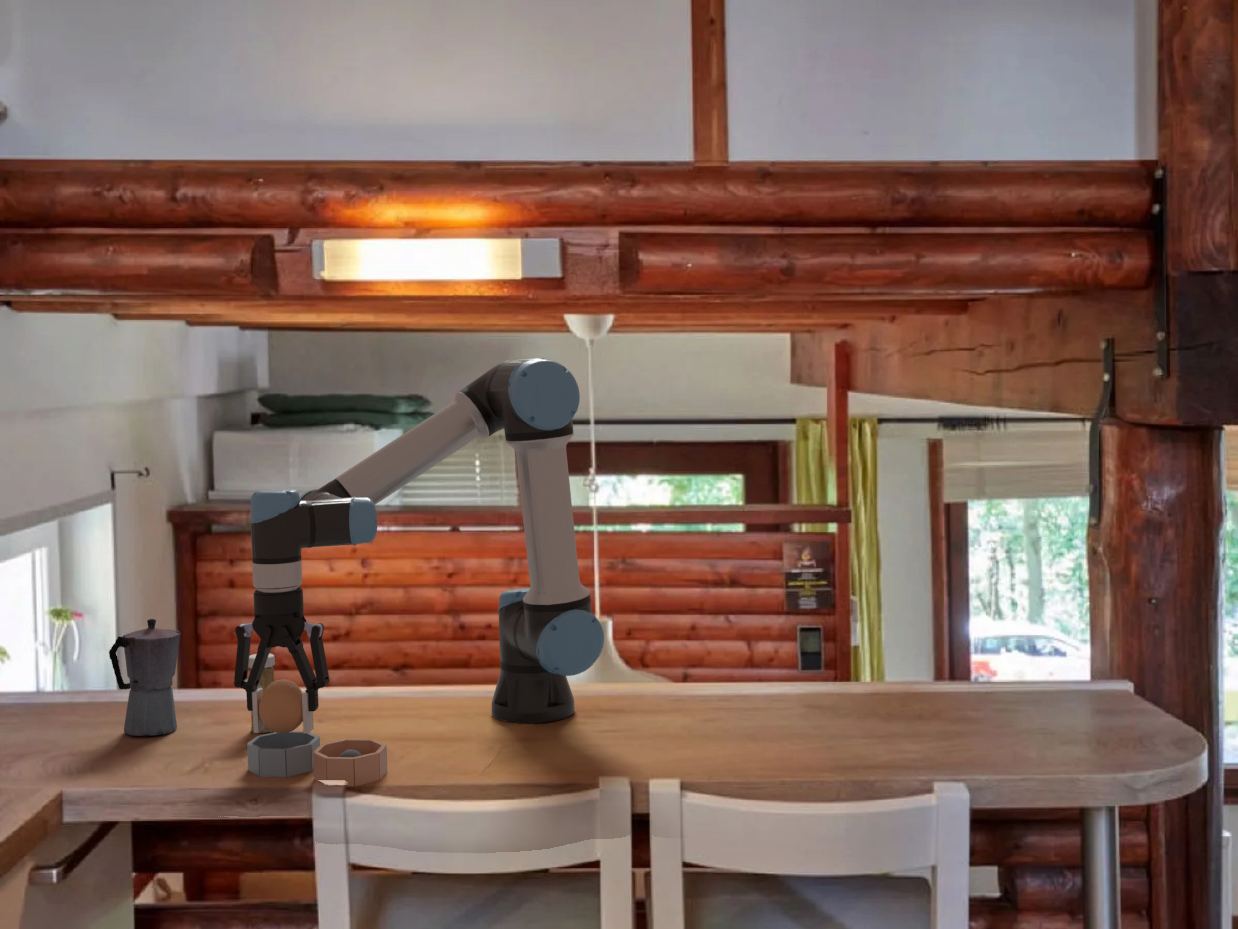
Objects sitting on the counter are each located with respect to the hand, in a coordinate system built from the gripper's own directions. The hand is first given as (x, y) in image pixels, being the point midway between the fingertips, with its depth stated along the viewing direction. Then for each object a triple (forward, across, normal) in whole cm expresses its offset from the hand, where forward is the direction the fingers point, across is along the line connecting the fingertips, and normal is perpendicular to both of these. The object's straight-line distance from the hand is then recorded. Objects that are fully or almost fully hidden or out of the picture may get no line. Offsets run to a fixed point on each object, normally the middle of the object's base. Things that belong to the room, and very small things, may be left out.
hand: (283, 730), depth 211 cm
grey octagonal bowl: (+7, 0, 0) cm, 7 cm away
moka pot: (+7, +32, -21) cm, 39 cm away
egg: (+1, 0, 0) cm, 1 cm away
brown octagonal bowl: (+7, -12, +4) cm, 14 cm away
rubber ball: (+6, -12, +4) cm, 14 cm away
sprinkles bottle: (+7, +12, -23) cm, 27 cm away
